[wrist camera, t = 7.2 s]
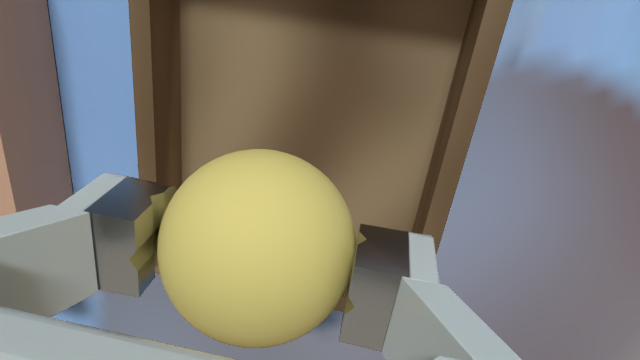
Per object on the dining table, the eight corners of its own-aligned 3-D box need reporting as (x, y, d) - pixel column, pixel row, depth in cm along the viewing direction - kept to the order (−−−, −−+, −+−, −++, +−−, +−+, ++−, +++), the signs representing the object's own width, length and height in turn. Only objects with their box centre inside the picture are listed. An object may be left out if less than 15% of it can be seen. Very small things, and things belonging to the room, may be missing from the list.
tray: (174, 232, 19) (144, 270, 17) (167, -100, 14) (122, -111, 11) (412, 279, 18) (414, 325, 16) (505, -52, 13) (529, -53, 11)
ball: (203, 249, 12) (122, 367, 9) (205, 108, 10) (104, 184, 7) (349, 280, 12) (325, 416, 8) (377, 140, 10) (364, 237, 7)
